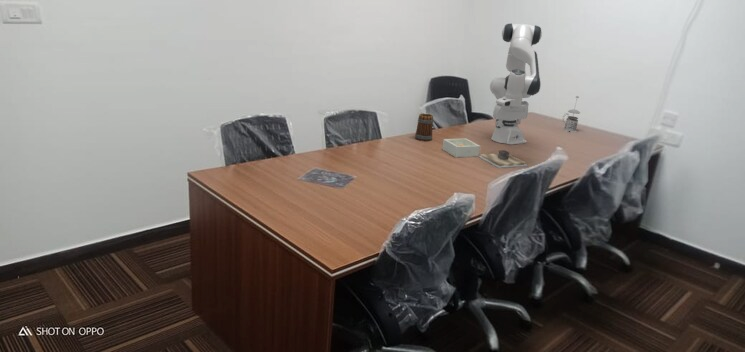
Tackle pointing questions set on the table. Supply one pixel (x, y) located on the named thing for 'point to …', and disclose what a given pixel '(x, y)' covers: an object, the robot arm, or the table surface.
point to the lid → (503, 159)
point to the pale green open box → (461, 147)
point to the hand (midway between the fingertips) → (508, 126)
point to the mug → (424, 127)
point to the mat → (501, 166)
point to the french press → (571, 120)
